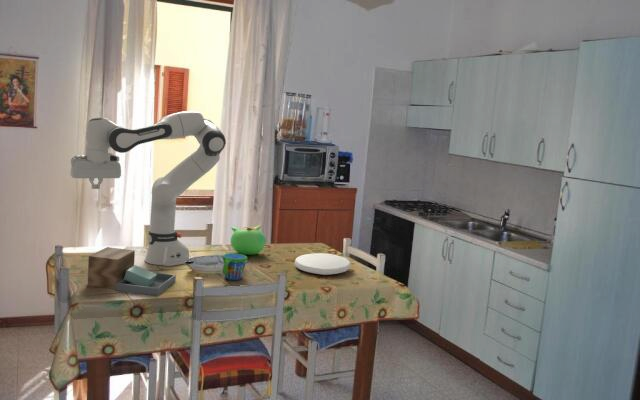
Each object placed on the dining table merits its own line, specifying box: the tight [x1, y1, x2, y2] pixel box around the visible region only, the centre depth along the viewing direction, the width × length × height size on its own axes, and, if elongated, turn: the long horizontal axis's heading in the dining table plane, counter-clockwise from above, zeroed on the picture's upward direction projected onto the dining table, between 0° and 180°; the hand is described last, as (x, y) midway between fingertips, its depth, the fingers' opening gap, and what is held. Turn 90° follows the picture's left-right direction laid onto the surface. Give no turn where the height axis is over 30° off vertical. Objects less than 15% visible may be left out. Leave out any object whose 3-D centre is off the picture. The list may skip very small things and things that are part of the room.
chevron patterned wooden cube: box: [87, 246, 136, 290], centre depth 245 cm, size 12×16×12 cm
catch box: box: [115, 271, 177, 297], centre depth 244 cm, size 17×20×3 cm
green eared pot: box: [230, 225, 267, 256], centre depth 310 cm, size 18×17×15 cm
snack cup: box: [221, 252, 248, 281], centre depth 266 cm, size 16×10×10 cm
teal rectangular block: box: [124, 264, 157, 287], centre depth 244 cm, size 4×8×10 cm
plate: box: [294, 252, 351, 276], centre depth 295 cm, size 28×6×27 cm
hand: (95, 188), depth 255 cm, fingers closed
